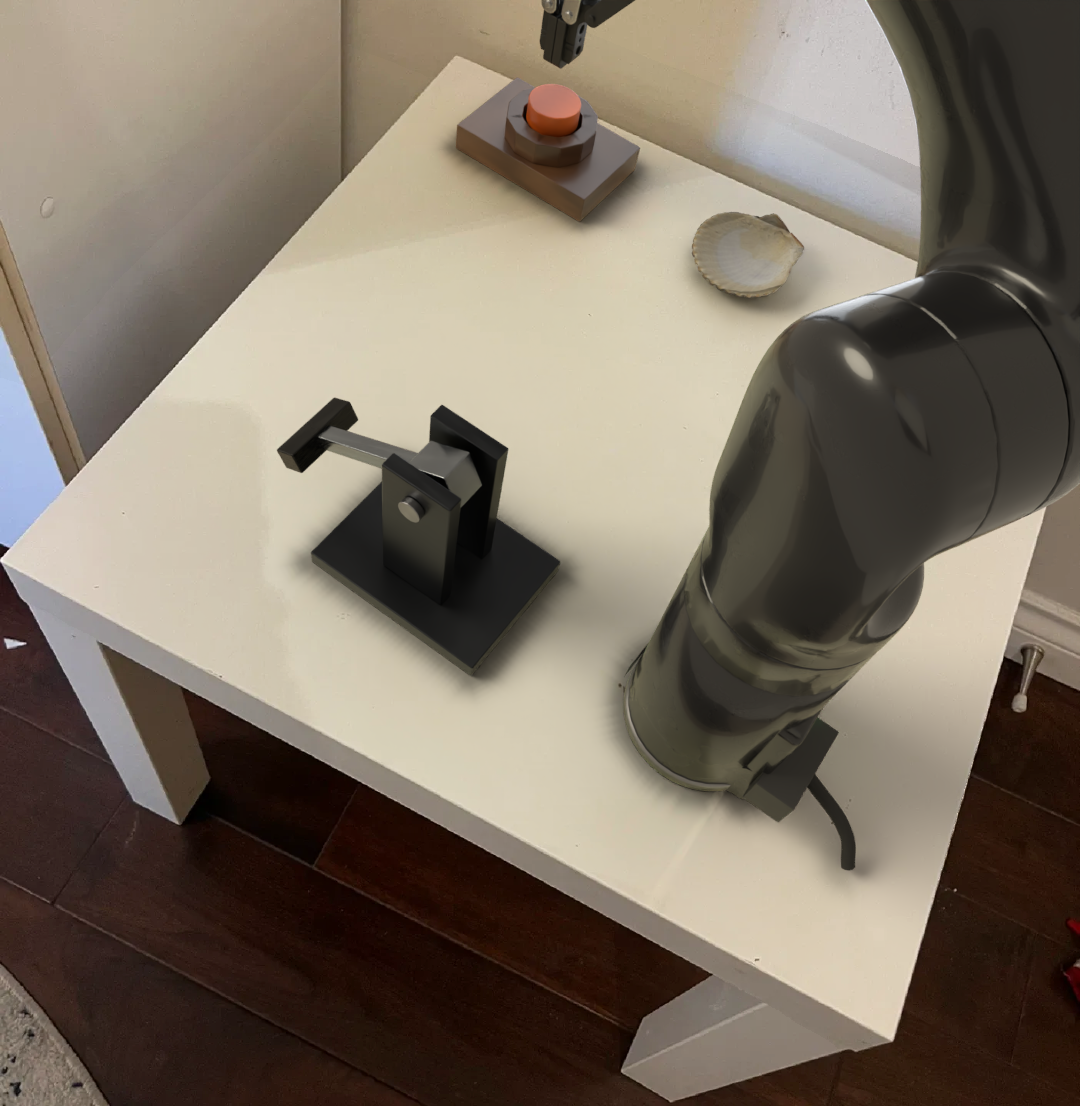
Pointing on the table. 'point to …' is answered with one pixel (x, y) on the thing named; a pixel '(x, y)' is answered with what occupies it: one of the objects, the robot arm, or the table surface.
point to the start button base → (547, 152)
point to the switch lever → (376, 450)
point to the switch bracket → (440, 551)
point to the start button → (553, 110)
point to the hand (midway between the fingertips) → (559, 59)
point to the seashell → (745, 253)
